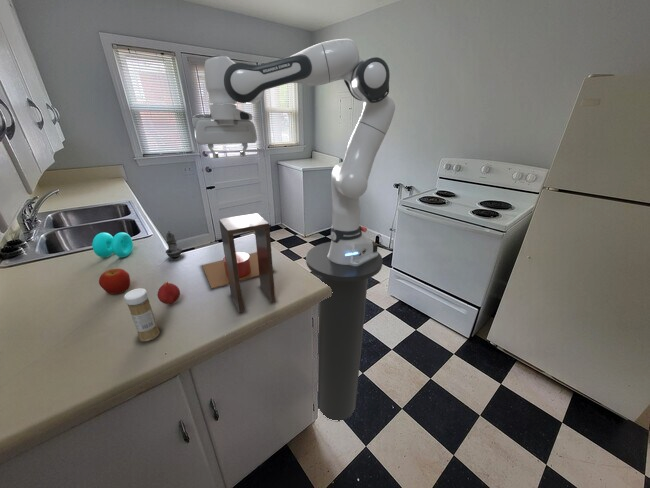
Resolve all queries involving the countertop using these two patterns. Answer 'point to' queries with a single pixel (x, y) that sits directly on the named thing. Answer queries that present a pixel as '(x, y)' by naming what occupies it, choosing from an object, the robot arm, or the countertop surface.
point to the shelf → (263, 253)
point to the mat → (219, 278)
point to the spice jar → (142, 314)
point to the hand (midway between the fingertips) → (229, 157)
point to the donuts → (112, 244)
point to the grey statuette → (173, 248)
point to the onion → (168, 293)
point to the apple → (115, 281)
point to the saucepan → (241, 264)
